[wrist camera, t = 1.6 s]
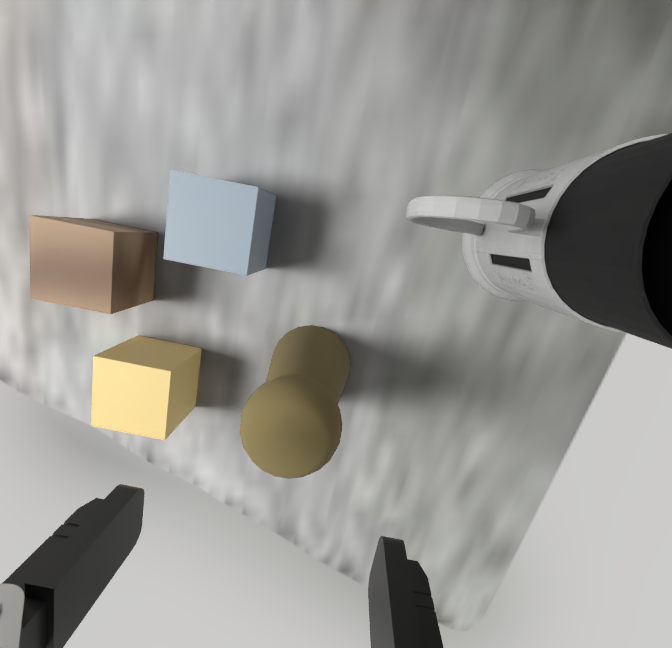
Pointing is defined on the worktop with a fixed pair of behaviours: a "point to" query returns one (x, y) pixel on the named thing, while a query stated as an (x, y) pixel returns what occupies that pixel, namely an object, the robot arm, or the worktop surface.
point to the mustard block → (144, 386)
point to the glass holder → (575, 237)
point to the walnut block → (91, 263)
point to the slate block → (218, 223)
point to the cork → (298, 404)
